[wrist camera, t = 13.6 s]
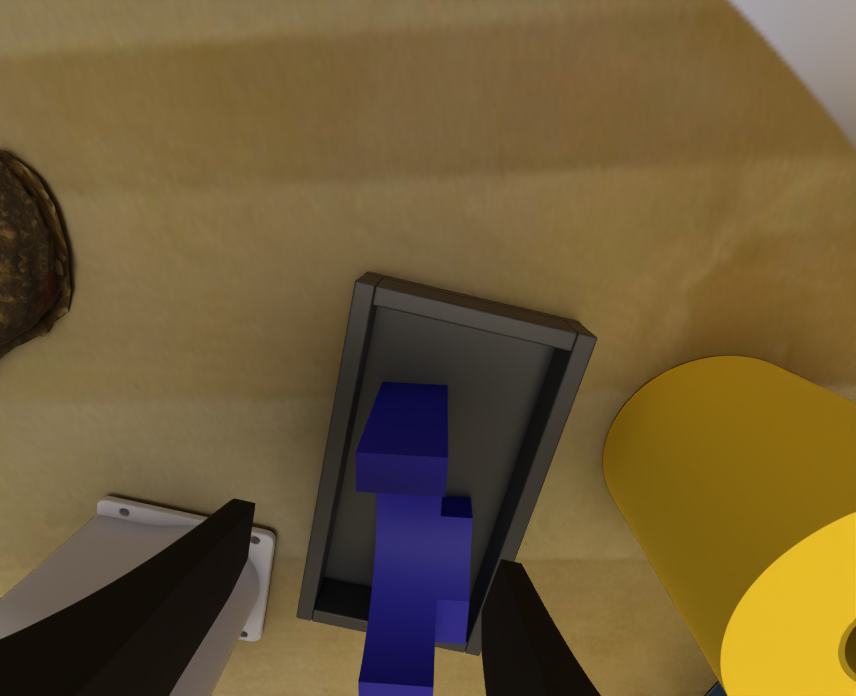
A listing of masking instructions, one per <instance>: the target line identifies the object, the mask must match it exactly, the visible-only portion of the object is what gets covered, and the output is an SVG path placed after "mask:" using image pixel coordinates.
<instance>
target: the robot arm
mask: <svg viewBox="0 0 856 696" xmlns="http://www.w3.org/2000/svg"><path fill="white" fill-rule="evenodd" d="M254 510H255V503H252V502H248V501H243V500H239V499H232V500H231V501H229V502H228V503H226V504H225V505H224V506H223V507H221V508H220V509H219V510H217V511H216V512H215V513H213V514H212V515H211V516H209V517H204V516H200V515H195V514H191V513H186V512H181V511H177V510H172V509H167V508H163V507H158V506H154V505H149V504H144V503H140V502H135V501H130V500H126V499H121V498H116V497H112V496H105V497H103V498H102V499H101V500H100V501H99V502H98V503H97V515H96V516H95V517H94V518H93V519H92V520H91V521H89V522H88V523H87V524H86V525H85V526H84V527H83V528H81V529H80V530H79V531H78V532H77V533H76V534H74V535H73V536H72V537H71V538H70V539H69V540H68V541H66V542H65V543H64V544H63V545H62V546H61V547H59V548H58V549H57V550H56V551H55V552H54V553H53V554H51V555H50V556H49V557H48V558H47V559H46V560H44V561H43V562H42V563H41V564H40V565H39V566H38V567H36V568H35V569H34V570H33V571H32V572H31V573H29V574H28V575H27V576H26V577H25V578H24V579H23V580H21V581H20V582H19V583H18V584H17V585H16V586H14V587H13V588H12V589H11V590H10V591H9V592H8V593H6V594H5V595H4V596H3V597H2V598H1V599H0V696H211V694H212V692H213V690H214V688H215V686H216V684H217V682H218V680H219V678H220V676H221V674H222V672H223V669H224V667H225V665H226V663H227V661H228V659H229V657H230V655H231V653H232V651H233V649H234V647H235V645H236V643H237V641H238V639H242V640H246V641H252V642H255V641H258V640H259V639H260V637H261V635H262V633H263V626H264V619H265V612H266V606H267V599H268V592H269V585H270V578H271V571H272V564H273V557H274V550H275V543H276V536H275V534H274V533H273V532H271V531H269V530H265V529H260V528H255V527H252V525H253V517H254ZM254 536H256V537H258V538H259V539H257V538H255V537H254ZM481 647H482V660H483V670H484V679H485V688H486V696H601V695H600V694H599V692H598V691H597V690H596V688H595V687H594V685H593V684H592V682H591V681H590V680H589V678H588V677H587V675H586V674H585V672H584V671H583V669H582V667H581V666H580V664H579V663H578V661H577V660H576V658H575V657H574V655H573V654H572V652H571V650H570V649H569V647H568V645H567V644H566V642H565V640H564V639H563V637H562V635H561V634H560V632H559V630H558V629H557V627H556V625H555V624H554V622H553V620H552V618H551V617H550V615H549V613H548V611H547V610H546V608H545V606H544V604H543V602H542V600H541V599H540V597H539V595H538V593H537V591H536V590H535V588H534V586H533V584H532V582H531V580H530V578H529V577H528V575H527V573H526V571H525V569H524V567H523V566H522V564H521V563H517V562H512V561H508V560H504V559H501V560H500V562H499V565H498V568H497V570H496V573H495V576H494V578H493V581H492V584H491V586H490V589H489V592H488V594H487V597H486V600H485V603H484V605H483V608H482V611H481Z"/></svg>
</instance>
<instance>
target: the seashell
mask: <svg viewBox="0 0 856 696" xmlns="http://www.w3.org/2000/svg"><path fill="white" fill-rule="evenodd" d="M68 263H69V256H68V250H67V246H66V243H65V239H64V236H63V233H62V229H61V226H60V223H59V219H58V216H57V213H56V209H55V206H54V205H53V203H52V201H51V199H50V198H49V196H48V194H47V192H46V191H45V189H44V187H43V185H42V183H41V181H40V178H39V177H38V176H37V175H35V174H34V173H33V172H31V171H30V170H28V169H27V168H26V167H25V166H24V165H23V164H21V163H20V162H18V161H17V160H16V159H14V158H13V157H12V156H11V155H9V154H7V153H5V152H4V151H2V150H0V357H1V356H3V355H4V354H5V353H7V352H8V351H10V350H11V349H12V348H14V347H16V346H19V345H21V344H23V343H25V342H27V341H29V340H31V339H33V338H35V337H37V336H39V335H41V336H43V337H44V335H45V333H46V332H47V331H48V329H49V328H50V326H51V324H52V323H53V322H55V321H56V320H57V319H59V318H60V317H61V316H63V315H64V314H65V313H66V312H68V309H69V301H70V293H71V288H70V280H69V264H68Z"/></svg>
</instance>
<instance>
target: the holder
mask: <svg viewBox="0 0 856 696" xmlns="http://www.w3.org/2000/svg"><path fill="white" fill-rule="evenodd" d="M596 341H597V337H596V336H594V335H593V334H592V333H591V332H590V331H588V330H587V329H586V328H585V327H584V326H582V324H581V323H579V322H578V321H575V320H570V319H566V318H562V317H558V316H553V315H549V314H545V313H541V312H537V311H532V310H528V309H524V308H520V307H515V306H511V305H507V304H503V303H498V302H494V301H490V300H486V299H481V298H477V297H473V296H469V295H465V294H460V293H456V292H452V291H448V290H443V289H439V288H435V287H431V286H426V285H422V284H418V283H414V282H409V281H405V280H401V279H397V278H393V277H388V276H384V275H380V274H376V273H371V272H366V273H365V274H364V275H363V276H362V277H360V278H359V279H358V280H356V281H355V285H354V290H353V296H352V302H351V308H350V313H349V319H348V325H347V330H346V336H345V342H344V348H343V353H342V359H341V365H340V370H339V376H338V382H337V388H336V393H335V399H334V405H333V410H332V416H331V422H330V428H329V433H328V439H327V445H326V450H325V456H324V462H323V468H322V473H321V479H320V485H319V490H318V496H317V502H316V507H315V513H314V519H313V525H312V530H311V536H310V542H309V547H308V553H307V559H306V565H305V570H304V576H303V582H302V587H301V593H300V599H299V605H298V610H297V618H300V619H305V620H311V619H312V621H315V622H320V623H324V624H329V625H334V626H339V627H343V628H348V629H353V630H358V631H362V632H367V626H368V618H369V610H370V602H371V593H372V584H373V573H374V561H375V547H376V526H377V498H376V493H370V492H356V458H355V452H356V450H357V447H358V444H359V442H360V439H361V436H362V434H363V431H364V429H365V426H366V423H367V421H368V418H369V416H370V413H371V410H372V408H373V405H374V402H375V400H376V397H377V395H378V392H379V389H380V387H381V384H382V382H398V383H417V384H435V385H448V467H447V483H446V496H452V497H468V498H471V503H472V515H473V522H472V536H471V555H470V588H469V611H468V621H467V632H466V643H465V644H454V643H440V642H435V647H439V648H443V649H448V650H453V651H458V652H464V651H465V653H467V654H472V655H477V656H479V655H480V652H481V649H482V647H481V611H482V608H483V605H484V603H485V600H486V597H487V594H488V592H489V589H490V586H491V584H492V581H493V578H494V576H495V573H496V570H497V568H498V565H499V562H500V560H501V559H504V560H508V561H512V562H514V561H515V558H516V555H517V553H518V550H519V547H520V545H521V542H522V539H523V537H524V534H525V531H526V529H527V526H528V523H529V521H530V518H531V515H532V512H533V510H534V507H535V504H536V502H537V499H538V496H539V494H540V491H541V488H542V486H543V483H544V480H545V478H546V475H547V472H548V470H549V467H550V464H551V462H552V459H553V456H554V453H555V451H556V448H557V445H558V443H559V440H560V437H561V435H562V432H563V429H564V427H565V424H566V421H567V419H568V416H569V413H570V411H571V408H572V405H573V403H574V400H575V397H576V394H577V392H578V389H579V386H580V384H581V381H582V378H583V376H584V373H585V370H586V368H587V365H588V362H589V360H590V357H591V354H592V352H593V349H594V346H595V344H596Z"/></svg>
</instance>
